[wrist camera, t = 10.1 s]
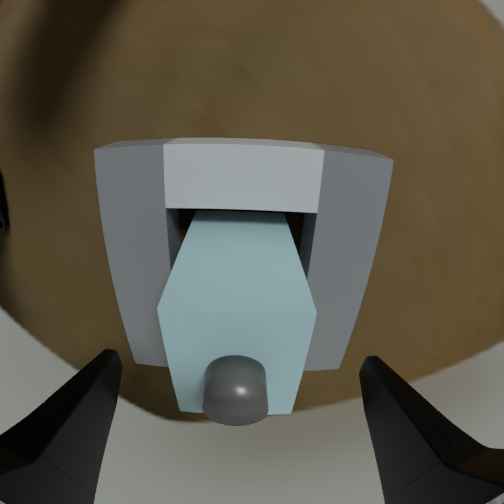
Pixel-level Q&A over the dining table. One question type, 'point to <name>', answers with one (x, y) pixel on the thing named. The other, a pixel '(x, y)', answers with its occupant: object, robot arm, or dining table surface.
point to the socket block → (244, 198)
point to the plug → (237, 317)
